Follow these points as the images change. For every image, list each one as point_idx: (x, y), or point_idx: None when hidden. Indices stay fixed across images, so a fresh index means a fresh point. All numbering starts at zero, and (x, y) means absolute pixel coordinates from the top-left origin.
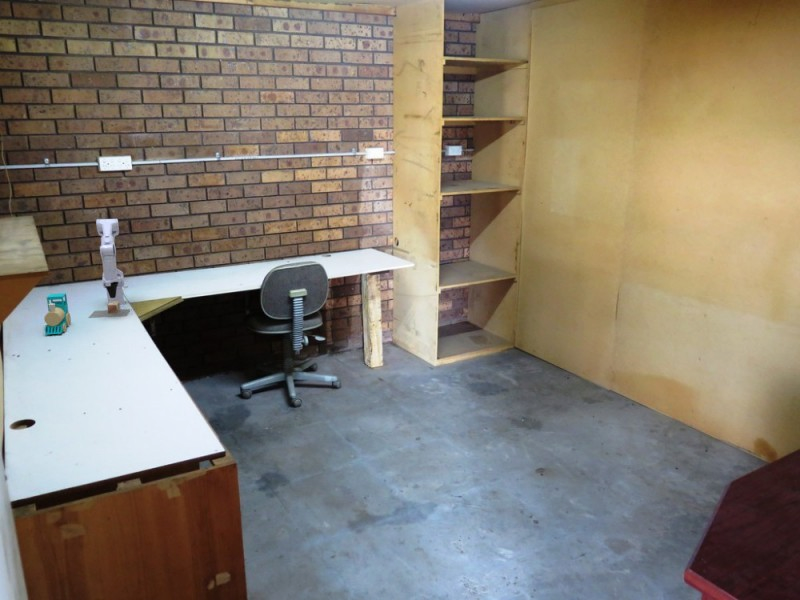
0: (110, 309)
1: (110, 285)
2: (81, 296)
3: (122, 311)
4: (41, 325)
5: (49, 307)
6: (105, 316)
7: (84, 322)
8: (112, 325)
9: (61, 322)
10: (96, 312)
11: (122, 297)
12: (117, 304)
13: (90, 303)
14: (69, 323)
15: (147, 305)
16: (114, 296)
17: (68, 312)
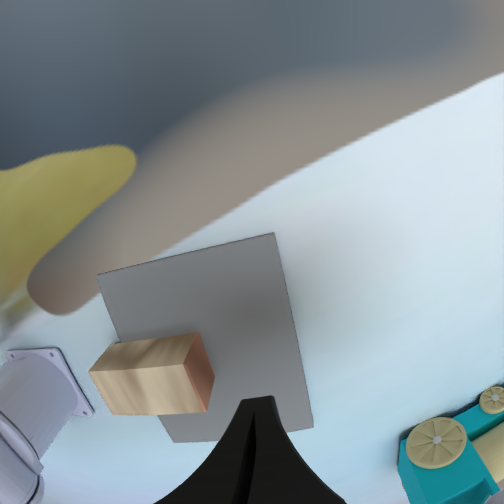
0: (206, 379)
1: (502, 492)
2: None
3: (156, 312)
4: (383, 489)
5: None
6: (286, 365)
7: (376, 408)
8: (454, 243)
9: (483, 429)
10: (204, 430)
11: (16, 372)
12: (146, 364)
13: (77, 459)
14: (426, 431)
15: (12, 222)
16: (274, 407)
17: (416, 475)
